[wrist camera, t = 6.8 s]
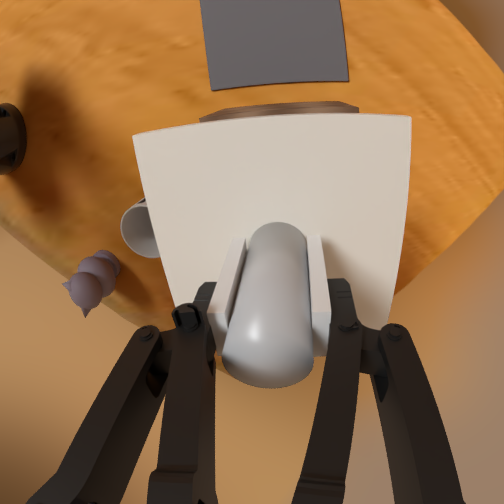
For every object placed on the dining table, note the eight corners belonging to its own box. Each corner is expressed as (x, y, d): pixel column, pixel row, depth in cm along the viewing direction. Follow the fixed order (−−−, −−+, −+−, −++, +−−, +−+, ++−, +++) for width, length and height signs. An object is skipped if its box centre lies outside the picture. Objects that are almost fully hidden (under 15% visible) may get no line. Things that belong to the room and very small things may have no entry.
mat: (211, 90, 39) (211, 90, 39) (198, -19, 30) (197, -19, 30) (348, 80, 36) (348, 80, 36) (333, -31, 27) (333, -32, 27)
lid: (190, 321, 26) (151, 429, 17) (144, 130, 18) (27, 187, 9) (380, 318, 24) (407, 434, 14) (400, 113, 16) (509, 157, 6)
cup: (168, 170, 46) (141, 192, 37) (204, 206, 48) (185, 236, 40) (139, 202, 49) (110, 229, 41) (173, 235, 52) (150, 267, 43)
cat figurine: (131, 277, 58) (104, 317, 48) (104, 284, 60) (76, 321, 50) (111, 241, 54) (77, 277, 44) (84, 250, 56) (51, 284, 46)
